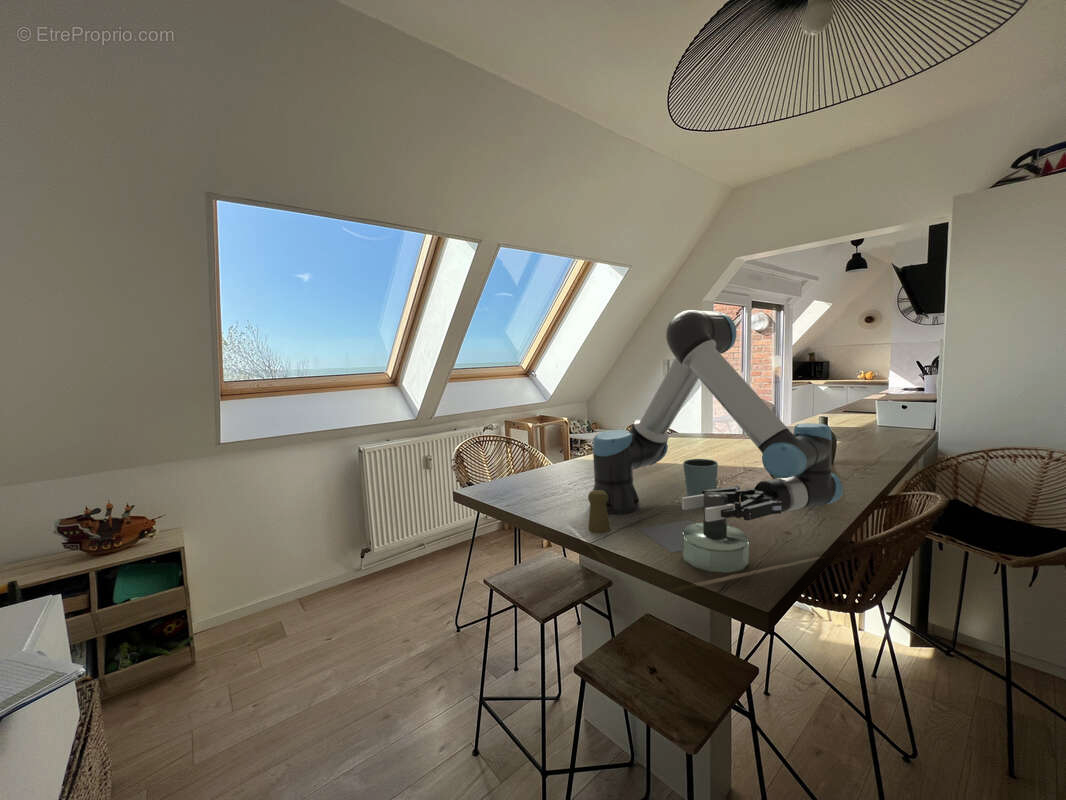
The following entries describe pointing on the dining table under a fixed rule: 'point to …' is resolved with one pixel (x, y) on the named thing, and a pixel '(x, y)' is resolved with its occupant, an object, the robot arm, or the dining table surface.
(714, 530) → the cover
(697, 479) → the teal cup
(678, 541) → the mat
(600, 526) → the cork
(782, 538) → the dining table surface
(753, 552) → the dining table surface
